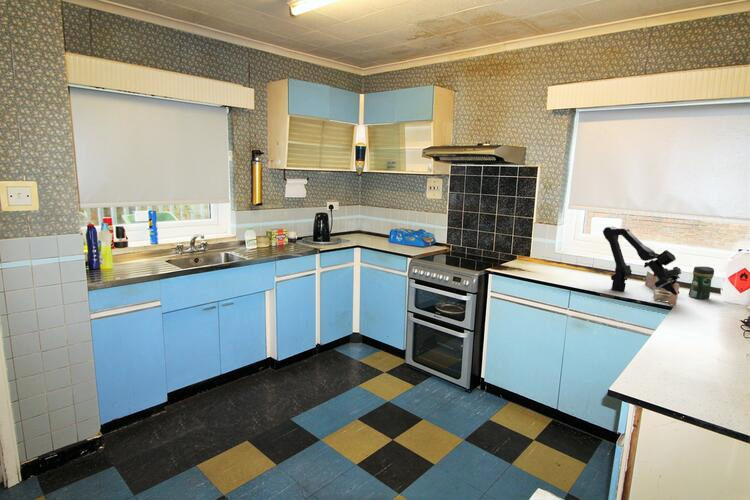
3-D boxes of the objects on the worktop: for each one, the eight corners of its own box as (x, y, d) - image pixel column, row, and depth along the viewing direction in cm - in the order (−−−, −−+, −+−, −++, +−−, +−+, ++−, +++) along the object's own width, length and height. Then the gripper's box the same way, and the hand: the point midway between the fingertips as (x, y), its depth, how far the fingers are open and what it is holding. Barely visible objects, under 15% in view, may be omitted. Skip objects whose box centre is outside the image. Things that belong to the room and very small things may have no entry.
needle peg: (669, 305, 234) (673, 283, 231) (668, 303, 236) (673, 281, 233) (675, 306, 232) (680, 284, 229) (675, 304, 235) (679, 282, 232)
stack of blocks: (644, 284, 273) (647, 266, 270) (655, 285, 272) (658, 267, 269) (659, 295, 252) (663, 274, 249) (671, 296, 251) (675, 275, 248)
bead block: (653, 300, 241) (655, 293, 240) (653, 296, 249) (654, 289, 248) (673, 303, 237) (674, 296, 236) (672, 299, 244) (673, 292, 243)
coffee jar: (700, 295, 254) (706, 265, 250) (711, 299, 246) (718, 268, 242) (685, 295, 253) (691, 264, 249) (695, 299, 245) (702, 268, 241)
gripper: (665, 264, 227) (685, 289, 220) (678, 260, 238) (698, 284, 231) (646, 274, 235) (665, 299, 228) (660, 270, 246) (678, 294, 239)
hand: (677, 294), depth 232 cm, fingers closed on needle peg, 3 cm apart
